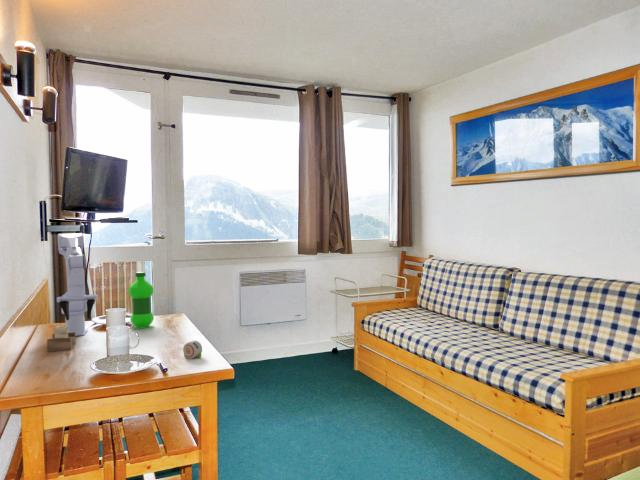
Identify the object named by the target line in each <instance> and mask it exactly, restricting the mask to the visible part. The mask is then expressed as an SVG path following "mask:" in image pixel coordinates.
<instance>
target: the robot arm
mask: <svg viewBox="0 0 640 480" xmlns="http://www.w3.org/2000/svg"><path fill="white" fill-rule="evenodd" d="M83 248H84V234H83V233H82V232H77V233H75V232H74V233H72V232H71V233H58V234H57V250H58V253H59V255H62V256H63V258H64V260H65V270H66V283H67V284H66V286H67V291H66V292H65V293H64V294H63V295H61V296H58V297H56V303H59V306H60V310H61V314H62V315H64V317H65V326H67V325H68V333H70V332H75V336H76V337H77V336H78V337H79V336H85V334H86V333H87V332H88V329H86V324H85V323H86V322H85V321H86V320H85V313H87V317H86V318H87V320H90V319H91V316H92V315H91V314H92V310H93V306H94V304H95V302H96V301H98V299H99V298H98V294H86V279H85V278H86V277H85V269H86V261H87V260H86V256H85V254H83V250H84V249H83Z"/></svg>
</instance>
